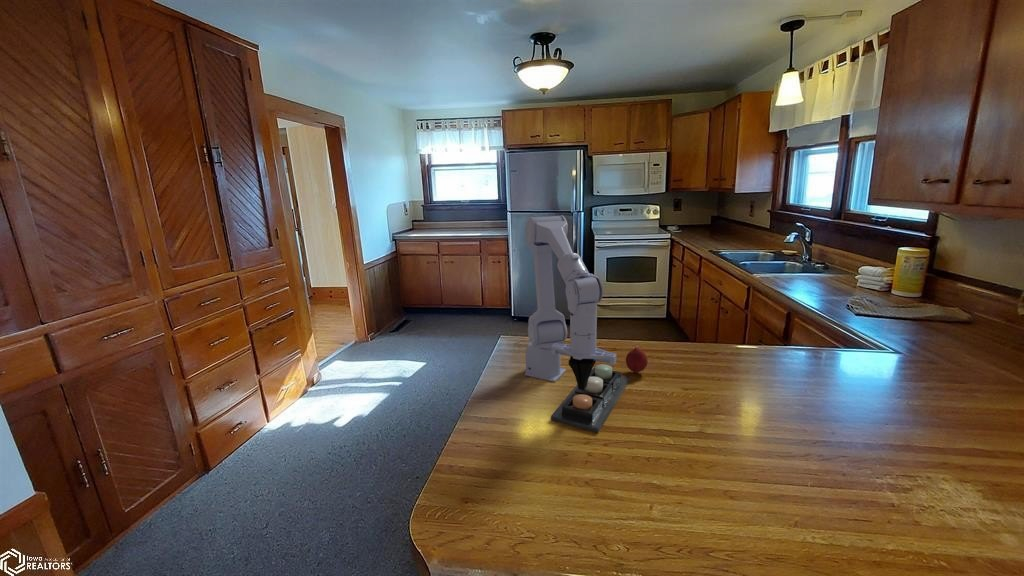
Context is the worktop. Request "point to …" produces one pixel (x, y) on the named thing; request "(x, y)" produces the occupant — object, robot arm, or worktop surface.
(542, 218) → the robot arm
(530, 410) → the worktop surface
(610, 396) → the tray
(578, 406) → the button terracotta
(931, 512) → the worktop surface
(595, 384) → the button cream
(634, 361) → the onion
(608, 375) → the button sage
